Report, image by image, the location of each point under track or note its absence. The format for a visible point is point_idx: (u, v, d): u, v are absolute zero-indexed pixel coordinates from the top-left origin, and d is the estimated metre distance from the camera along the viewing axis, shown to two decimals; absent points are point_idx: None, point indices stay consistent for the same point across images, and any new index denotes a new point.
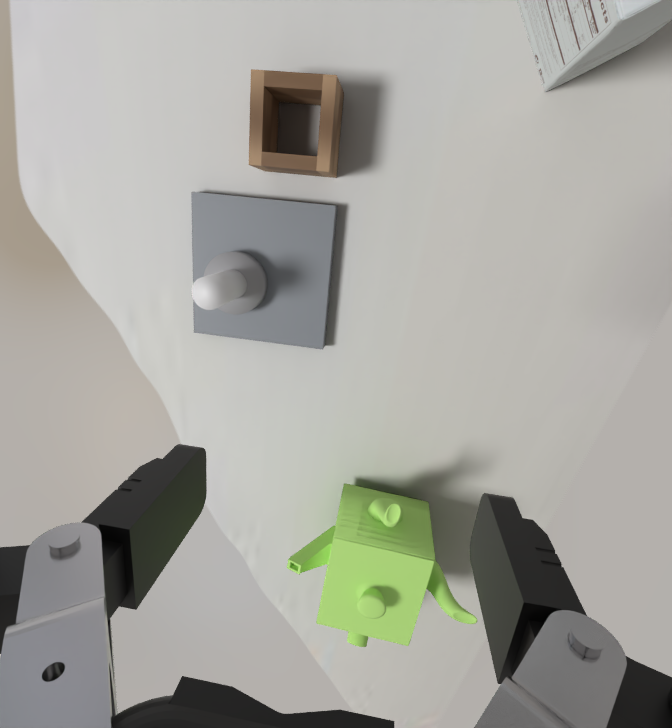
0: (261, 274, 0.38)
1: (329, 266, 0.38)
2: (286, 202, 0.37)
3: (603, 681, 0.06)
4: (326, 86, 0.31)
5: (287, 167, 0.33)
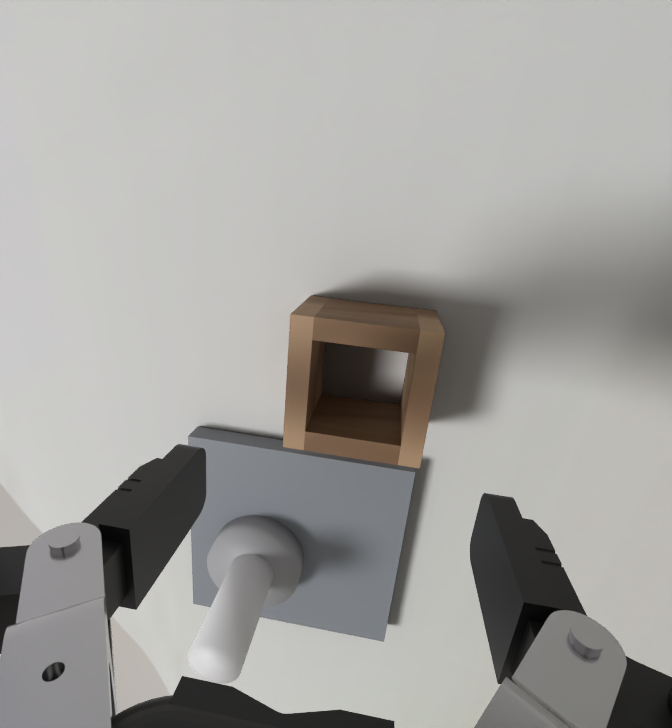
0: (296, 561, 0.24)
1: (400, 545, 0.25)
2: (337, 462, 0.23)
3: (603, 681, 0.06)
4: (425, 348, 0.17)
5: (348, 455, 0.19)
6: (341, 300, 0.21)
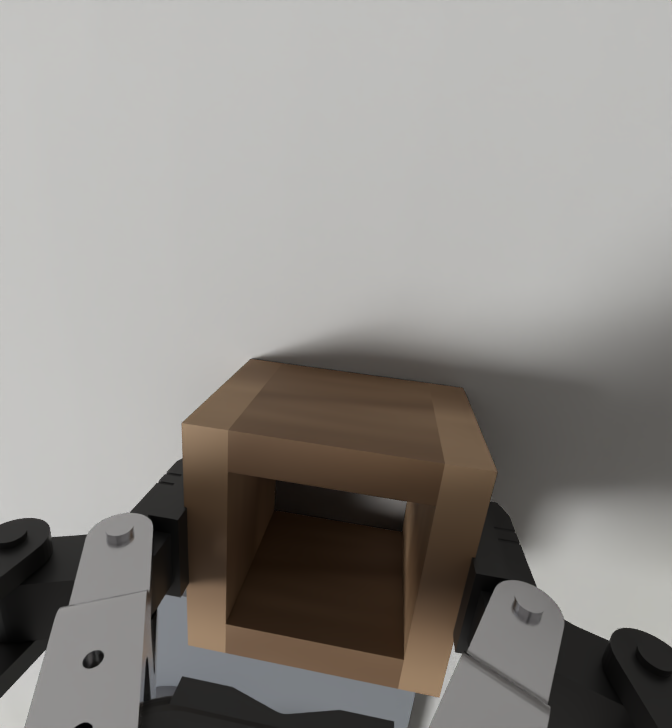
0: None
1: None
2: None
3: (539, 640, 0.07)
4: (453, 498, 0.08)
5: None
6: (301, 369, 0.12)
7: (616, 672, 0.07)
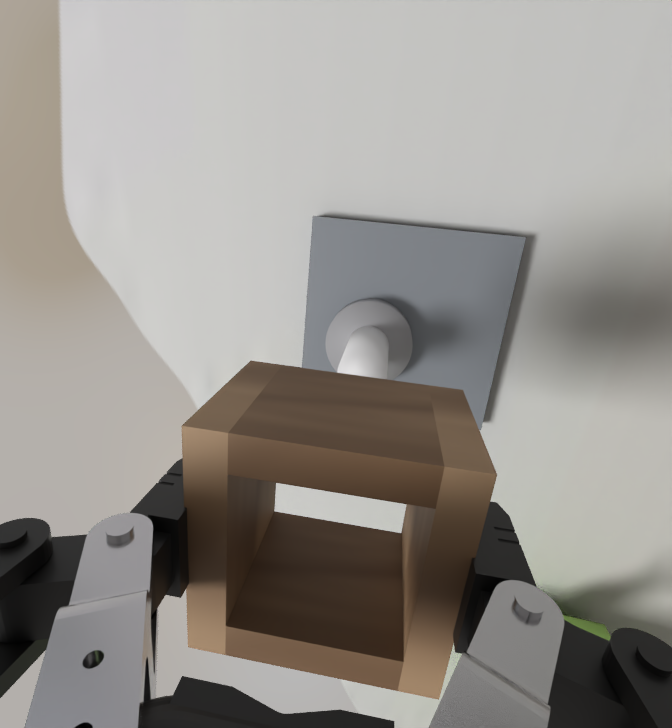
0: (410, 332, 0.27)
1: (504, 321, 0.27)
2: (452, 232, 0.26)
3: (539, 640, 0.07)
4: (453, 500, 0.08)
5: (306, 666, 0.11)
6: (301, 371, 0.12)
7: (616, 672, 0.07)
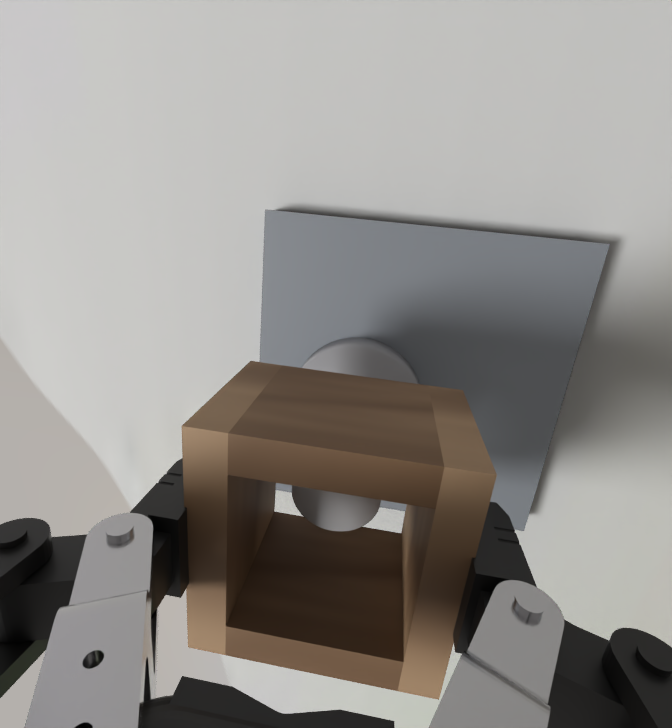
0: None
1: (568, 374, 0.17)
2: (488, 235, 0.16)
3: (539, 640, 0.07)
4: (453, 501, 0.08)
5: (306, 666, 0.11)
6: (300, 371, 0.12)
7: (616, 672, 0.07)
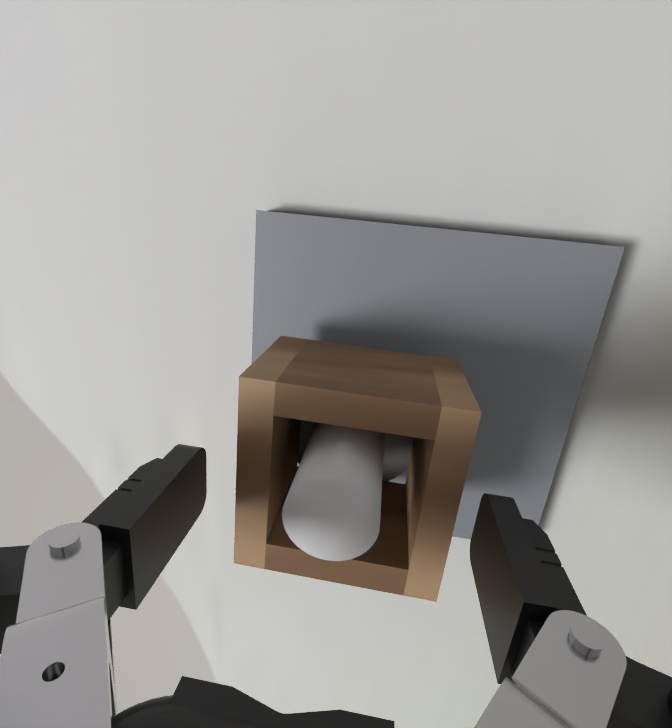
0: None
1: (578, 385, 0.16)
2: (494, 237, 0.15)
3: (603, 681, 0.06)
4: (448, 433, 0.11)
5: None
6: (323, 343, 0.15)
7: None
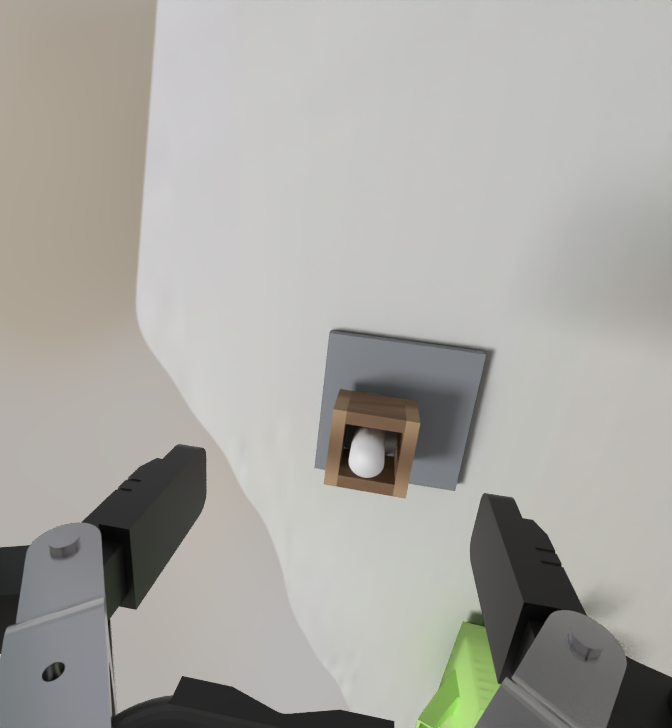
0: None
1: (471, 411, 0.36)
2: (432, 348, 0.35)
3: (603, 681, 0.06)
4: (409, 430, 0.31)
5: (363, 489, 0.33)
6: (359, 393, 0.35)
7: None
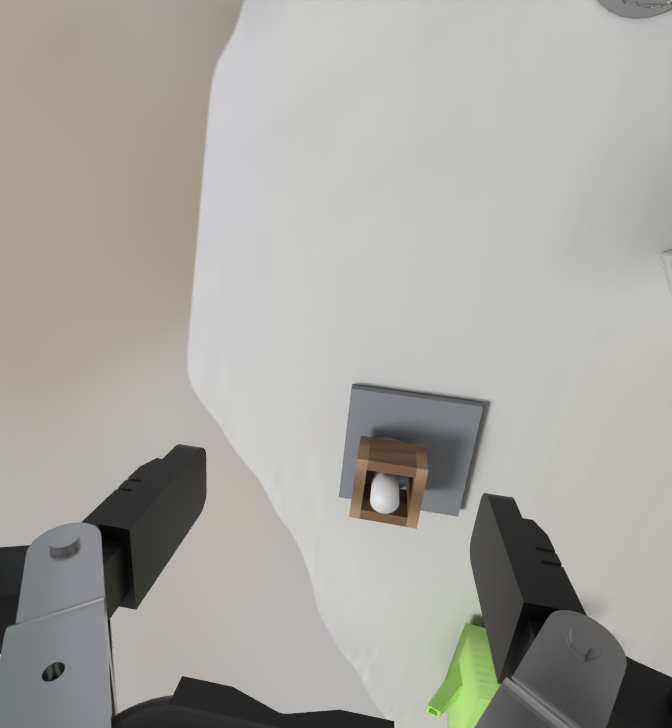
0: None
1: (471, 452, 0.43)
2: (438, 402, 0.41)
3: (603, 681, 0.06)
4: (419, 476, 0.38)
5: (381, 521, 0.40)
6: (377, 439, 0.42)
7: None
